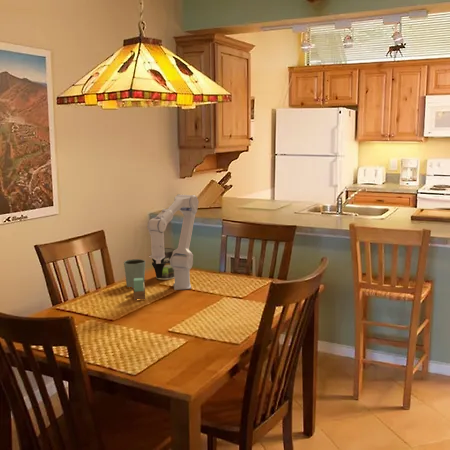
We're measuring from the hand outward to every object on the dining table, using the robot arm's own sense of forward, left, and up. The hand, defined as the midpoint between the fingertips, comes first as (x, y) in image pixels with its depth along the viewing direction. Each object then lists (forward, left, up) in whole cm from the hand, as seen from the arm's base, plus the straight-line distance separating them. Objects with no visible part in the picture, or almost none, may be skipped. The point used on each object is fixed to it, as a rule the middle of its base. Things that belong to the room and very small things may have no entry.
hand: (159, 275), depth 243 cm
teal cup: (-22, -11, -11) cm, 27 cm away
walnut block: (-1, -9, -11) cm, 14 cm away
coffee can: (-34, +4, -11) cm, 36 cm away
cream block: (-9, -9, -10) cm, 17 cm away
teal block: (-1, -9, -7) cm, 11 cm away
